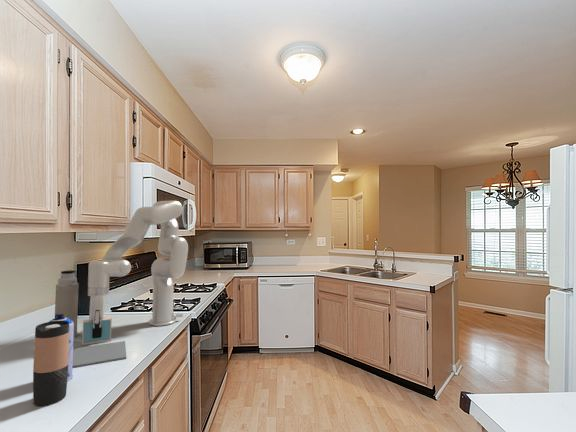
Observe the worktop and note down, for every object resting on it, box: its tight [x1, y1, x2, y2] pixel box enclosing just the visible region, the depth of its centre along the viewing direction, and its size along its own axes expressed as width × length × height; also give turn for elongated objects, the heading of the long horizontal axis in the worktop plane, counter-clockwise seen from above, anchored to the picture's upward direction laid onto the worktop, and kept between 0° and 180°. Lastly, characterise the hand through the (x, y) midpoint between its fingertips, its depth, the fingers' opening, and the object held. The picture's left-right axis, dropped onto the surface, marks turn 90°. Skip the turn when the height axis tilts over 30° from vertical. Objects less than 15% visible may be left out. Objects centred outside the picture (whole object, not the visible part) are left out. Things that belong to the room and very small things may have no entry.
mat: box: [72, 340, 127, 369], centre depth 115 cm, size 22×18×1 cm
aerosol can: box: [48, 313, 74, 383], centre depth 96 cm, size 8×8×20 cm
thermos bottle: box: [54, 269, 79, 338], centre depth 134 cm, size 8×8×28 cm
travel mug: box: [32, 321, 69, 407], centre depth 86 cm, size 8×8×20 cm
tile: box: [81, 316, 113, 346], centre depth 128 cm, size 10×3×9 cm, turn 119°
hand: (97, 335), depth 128 cm, fingers closed on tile, 3 cm apart
